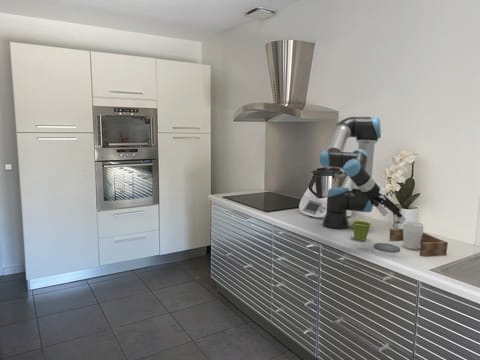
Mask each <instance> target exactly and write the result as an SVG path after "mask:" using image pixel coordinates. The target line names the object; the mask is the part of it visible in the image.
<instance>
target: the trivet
mask: <svg viewBox="0 0 480 360" xmlns="http://www.w3.org/2000/svg"><path fill="white" fill-rule="evenodd" d="M373 248H374V249H375V250H378V251H380V252H386V253H399V252H400V251H401V248H400V247H399V246H397V245H395V244H391V243H383V242H382V243H381V242H379V243H375V244H373Z"/></svg>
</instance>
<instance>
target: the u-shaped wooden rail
mask: <svg viewBox="0 0 480 360" xmlns="http://www.w3.org/2000/svg"><path fill="white" fill-rule="evenodd" d="M388 240H389V241H390V242H391V241H392V242H393V241H394V242H395V241H404V239H403V228H390V231H389V239H388ZM447 252H448V242H447V241H445V240H443V239H440V238H438V237H435V236H432V235H431V234H428V233H425V232H423V234H422V238H421V242H420V245H419V257H427V256H447Z"/></svg>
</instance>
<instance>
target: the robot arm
mask: <svg viewBox="0 0 480 360" xmlns="http://www.w3.org/2000/svg"><path fill="white" fill-rule="evenodd" d="M332 132H333V133H332V134H333V135H332V137H331V140H330V143H329V146H328V148H327V149H326V150H324V151H321V152H320V153H319V154H320V155H319V164H320V166H322V167H330V168H333V167H334V168H343V169H342V170H343V171H344V172H345V174H346V175H347V177H348V178H349V179H351V181H352V182H353V184H354V186H352V188H351V189H352V190H350V189H349V188H348V187H347V186H341V187H340V186H338V187H332V188H329V189H328V191H327V195H326V212H325V215H324V218H323V220H322V226H323V227H324V228H327V229H333V230H346V229H348V228H349V225H350V222H349V220H348V219H349V218H348V213H347V212H348V211H353V212H362V213H370V212H372V211H373V209H374V207H376V209H377V210H378V211H379V212H380V215H382V216H383V217H386V216H387V214H389V212H391V213H392V215H393V216H394V217H395V218H396V219H397V220H398V221H399V223H400V224H404V222H406V220H407V219H406V218H405V217H404V215H403V214H402V213H401V209H400V208H399V207H398V206H397V205H396V204H395V203H394V202H393V201H391V200H390V199H389V198H388V197H387V195H386V194H382V193H380V191H381V188H380V186H379V185H378V184H377V183H376V182H375V180H374V179H373V166H374V156H375V155H374V154H375V144H377V143H378V141H379V139H381V138H382V136H381V135H382V134H381V133H382V131H381V119H380V118H379V117H375V116H350V117H346V118H344V119H342V120H340V121H339V122H338V123H337V124H335V126H334V129H333V131H332ZM349 138H356V139H355V141H356V142H357V143H358V145H357V147H358V148H357V149H355V150H353V152H347V151H344V149H345V146H346V143H347V141H348V139H349ZM386 208H387V209H386ZM388 210H389V212H388Z"/></svg>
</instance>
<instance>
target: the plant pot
mask: <svg viewBox="0 0 480 360" xmlns="http://www.w3.org/2000/svg"><path fill="white" fill-rule="evenodd" d="M351 224H352V226H353V239H355V240H356V241H366V240H367V238H368V234H369V229H370V227H371V225H372V224H371V222H367V221H364V220H363V221H362V220H353V221H351Z"/></svg>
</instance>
